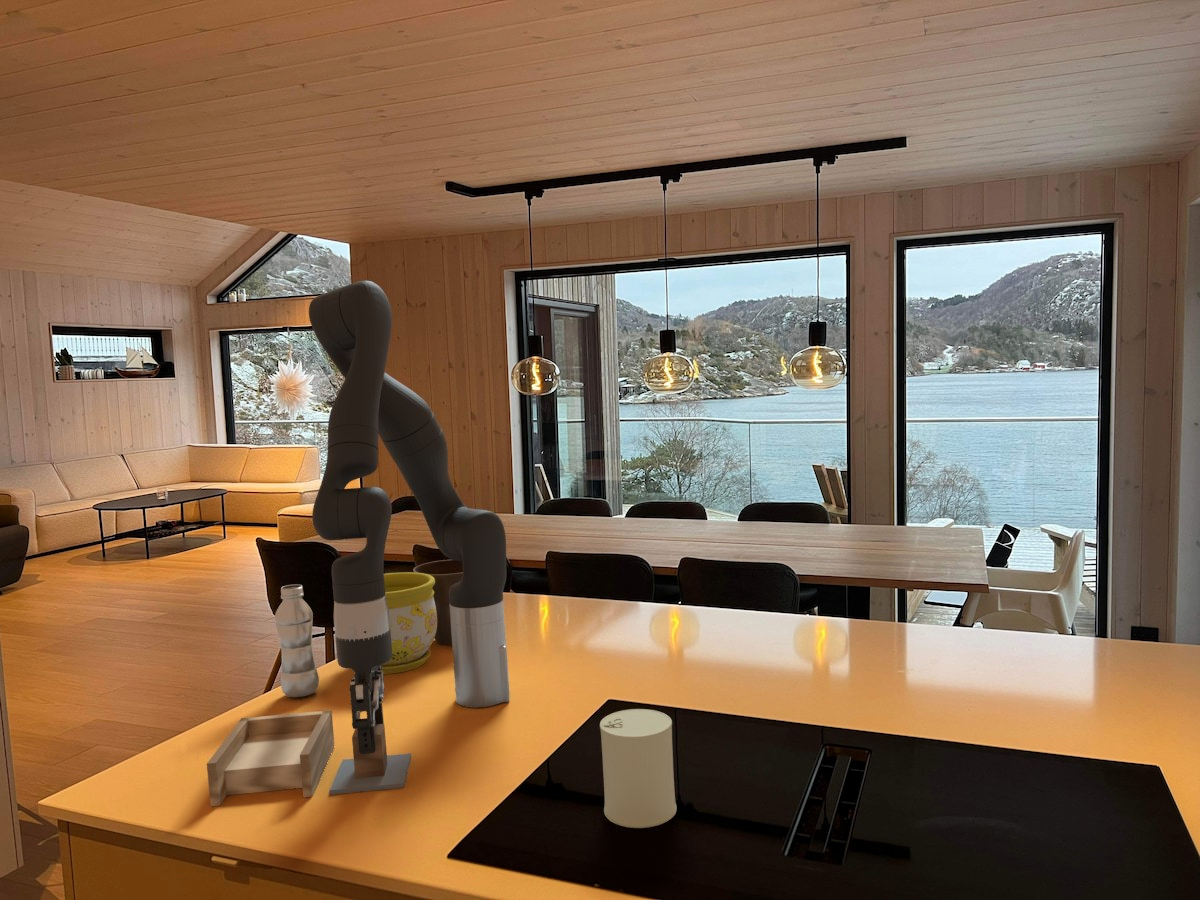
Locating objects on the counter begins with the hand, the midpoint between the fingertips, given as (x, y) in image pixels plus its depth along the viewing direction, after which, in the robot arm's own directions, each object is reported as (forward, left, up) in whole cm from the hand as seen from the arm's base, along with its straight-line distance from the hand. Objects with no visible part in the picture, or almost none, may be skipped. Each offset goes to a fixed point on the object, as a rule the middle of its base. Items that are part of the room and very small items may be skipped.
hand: (372, 740), depth 129 cm
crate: (+14, -3, -5) cm, 16 cm away
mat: (0, 0, -5) cm, 5 cm away
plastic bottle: (+18, -37, -5) cm, 42 cm away
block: (0, 0, -5) cm, 5 cm away
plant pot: (-8, -64, -5) cm, 65 cm away
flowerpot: (+3, -51, -5) cm, 51 cm away
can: (-36, +18, -5) cm, 40 cm away
